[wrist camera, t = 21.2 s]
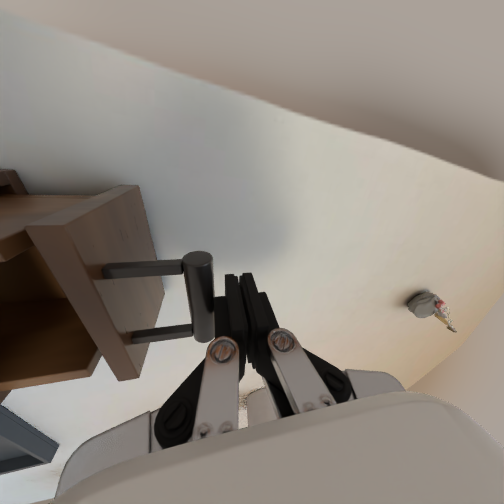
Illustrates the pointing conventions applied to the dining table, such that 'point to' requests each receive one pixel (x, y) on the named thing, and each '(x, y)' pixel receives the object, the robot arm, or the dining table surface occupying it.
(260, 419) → the coffee cup
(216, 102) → the dining table surface
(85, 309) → the drawer
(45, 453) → the tray
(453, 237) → the dining table surface
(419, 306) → the figurine
